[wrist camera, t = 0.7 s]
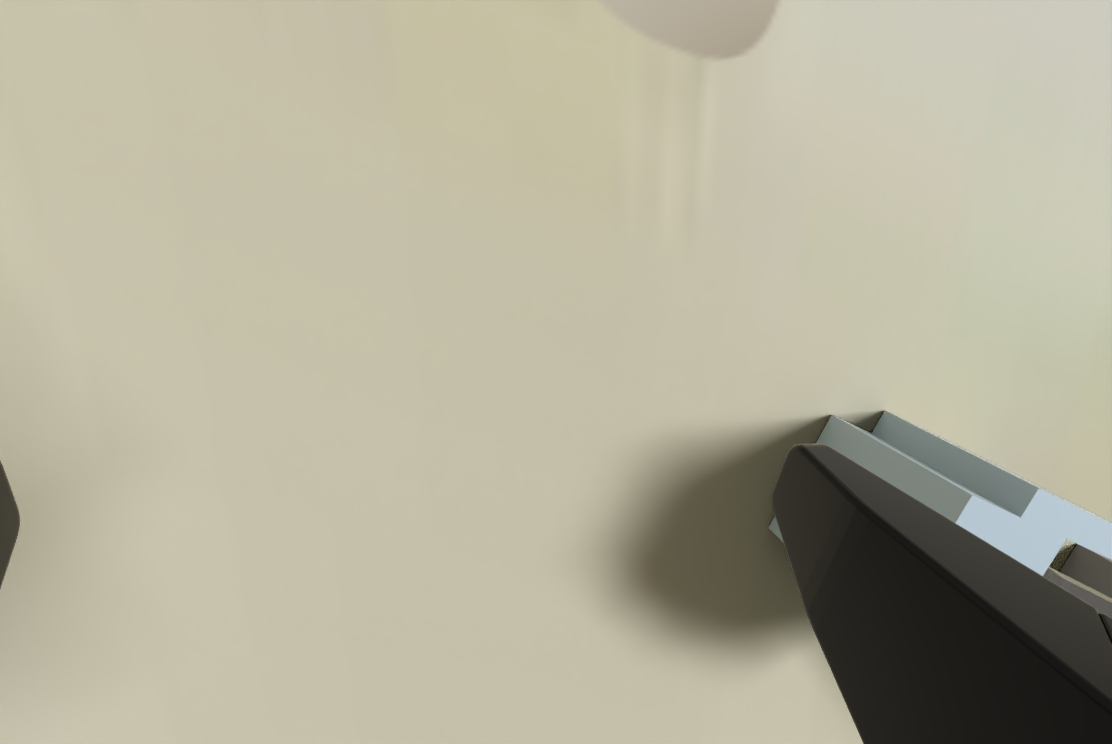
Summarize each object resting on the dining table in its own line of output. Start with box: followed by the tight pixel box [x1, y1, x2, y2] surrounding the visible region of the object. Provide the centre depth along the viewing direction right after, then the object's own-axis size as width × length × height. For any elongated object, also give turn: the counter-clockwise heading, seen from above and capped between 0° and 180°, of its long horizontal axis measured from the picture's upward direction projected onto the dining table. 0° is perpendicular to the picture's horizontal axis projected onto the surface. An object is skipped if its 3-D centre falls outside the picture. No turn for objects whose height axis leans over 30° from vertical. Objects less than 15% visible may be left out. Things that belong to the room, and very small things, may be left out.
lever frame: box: [768, 411, 1112, 598], centre depth 27 cm, size 7×17×7 cm, turn 64°
